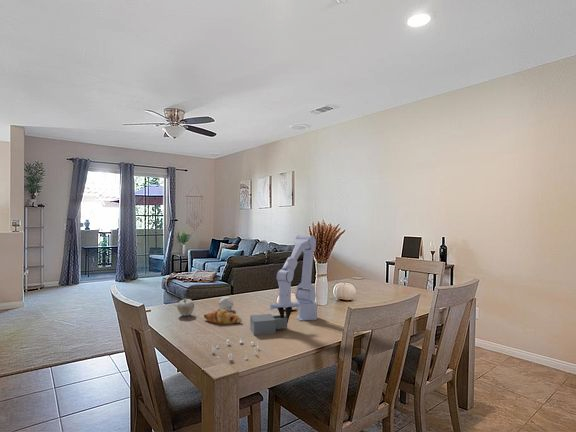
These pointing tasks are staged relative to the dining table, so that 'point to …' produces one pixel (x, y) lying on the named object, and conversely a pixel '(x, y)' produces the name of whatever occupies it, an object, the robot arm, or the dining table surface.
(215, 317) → the croissant
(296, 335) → the dining table surface
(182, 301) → the decorative object
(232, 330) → the dining table surface
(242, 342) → the game piece set
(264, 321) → the grey stepped block
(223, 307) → the die
